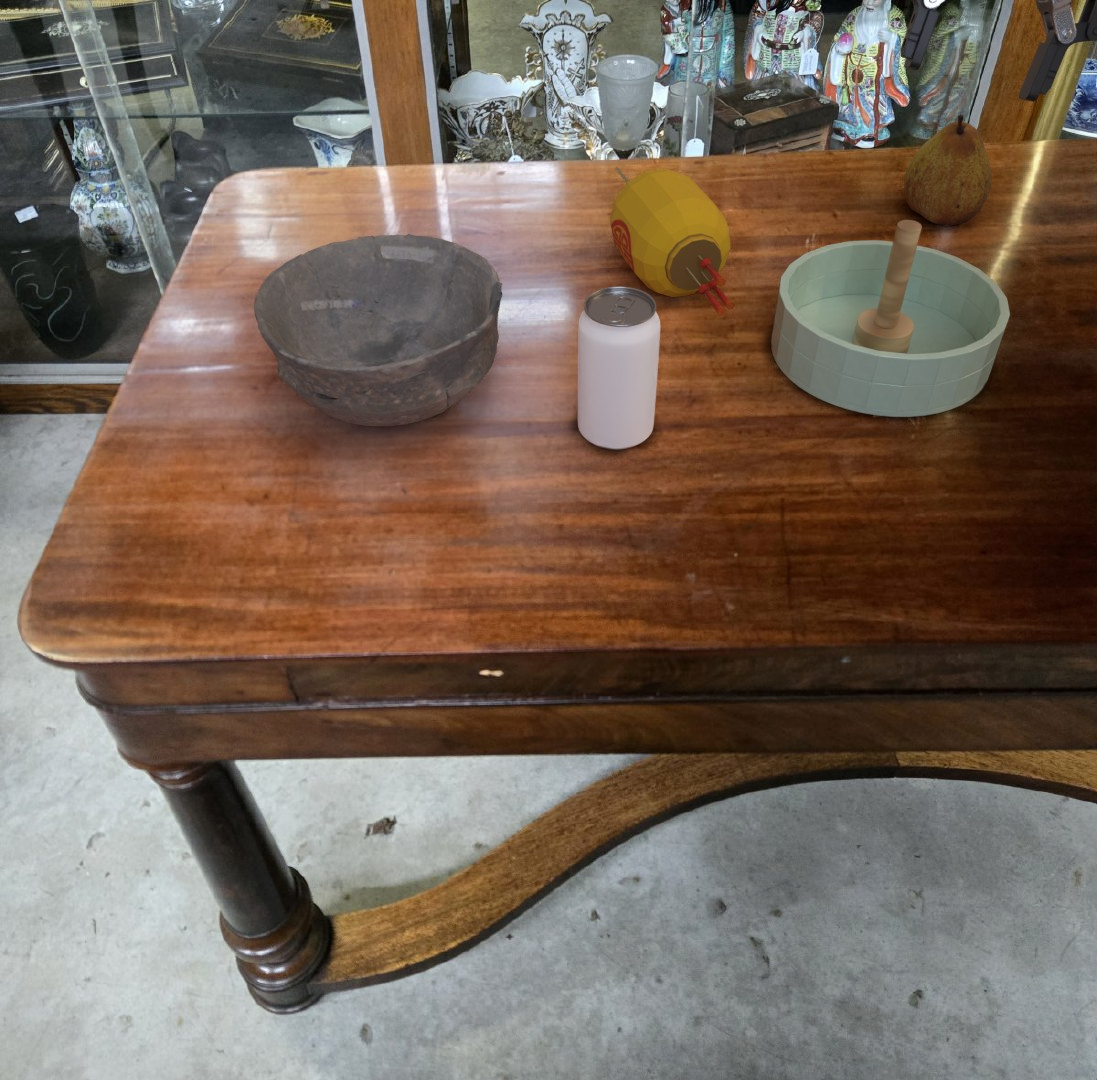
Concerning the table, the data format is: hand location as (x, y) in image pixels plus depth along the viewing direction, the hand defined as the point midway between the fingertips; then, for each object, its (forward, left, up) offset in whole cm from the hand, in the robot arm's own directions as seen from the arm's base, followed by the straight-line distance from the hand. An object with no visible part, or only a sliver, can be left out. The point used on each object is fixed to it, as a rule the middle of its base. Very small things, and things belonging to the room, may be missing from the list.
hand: (969, 84), depth 74 cm
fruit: (+3, -34, -26) cm, 43 cm away
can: (+19, +16, -26) cm, 36 cm away
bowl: (+39, +20, -26) cm, 51 cm away
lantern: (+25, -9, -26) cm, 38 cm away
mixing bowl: (+2, -5, -26) cm, 27 cm away
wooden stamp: (+2, -5, -26) cm, 26 cm away
